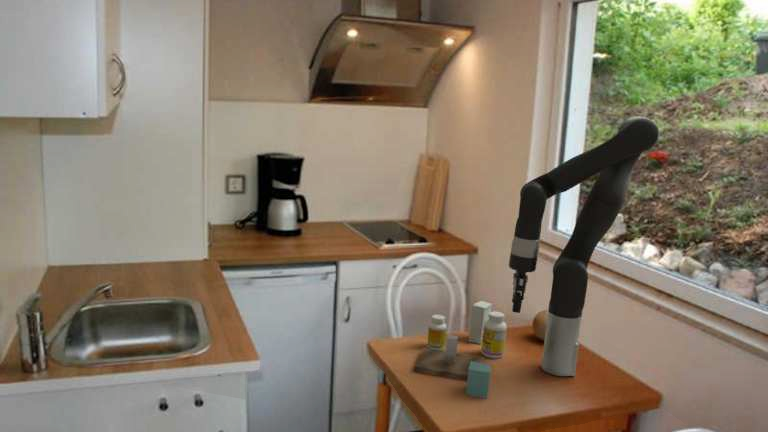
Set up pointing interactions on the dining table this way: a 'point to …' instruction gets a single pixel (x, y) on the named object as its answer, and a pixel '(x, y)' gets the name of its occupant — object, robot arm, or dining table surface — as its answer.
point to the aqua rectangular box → (478, 379)
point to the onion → (540, 324)
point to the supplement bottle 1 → (437, 333)
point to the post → (451, 349)
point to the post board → (444, 364)
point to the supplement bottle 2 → (494, 335)
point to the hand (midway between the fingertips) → (515, 307)
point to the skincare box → (479, 321)
